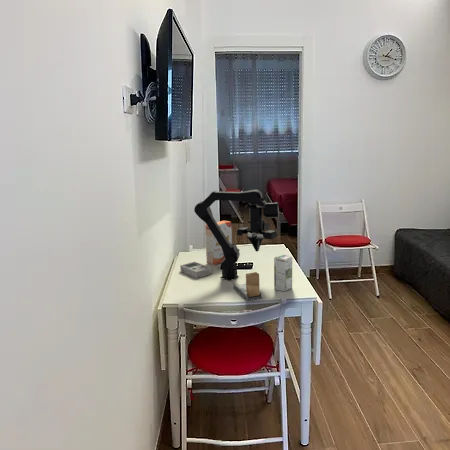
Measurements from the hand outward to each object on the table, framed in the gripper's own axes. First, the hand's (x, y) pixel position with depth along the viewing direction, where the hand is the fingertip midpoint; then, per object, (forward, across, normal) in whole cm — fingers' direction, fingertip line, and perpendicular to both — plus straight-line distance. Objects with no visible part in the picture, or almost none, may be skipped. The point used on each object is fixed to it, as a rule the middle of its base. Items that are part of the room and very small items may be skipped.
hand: (257, 251), depth 200 cm
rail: (+13, -6, +18) cm, 23 cm away
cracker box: (+13, +32, -13) cm, 37 cm away
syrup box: (+13, -17, +6) cm, 22 cm away
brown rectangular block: (+12, -11, +22) cm, 27 cm away
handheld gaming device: (+14, +31, +8) cm, 35 cm away
